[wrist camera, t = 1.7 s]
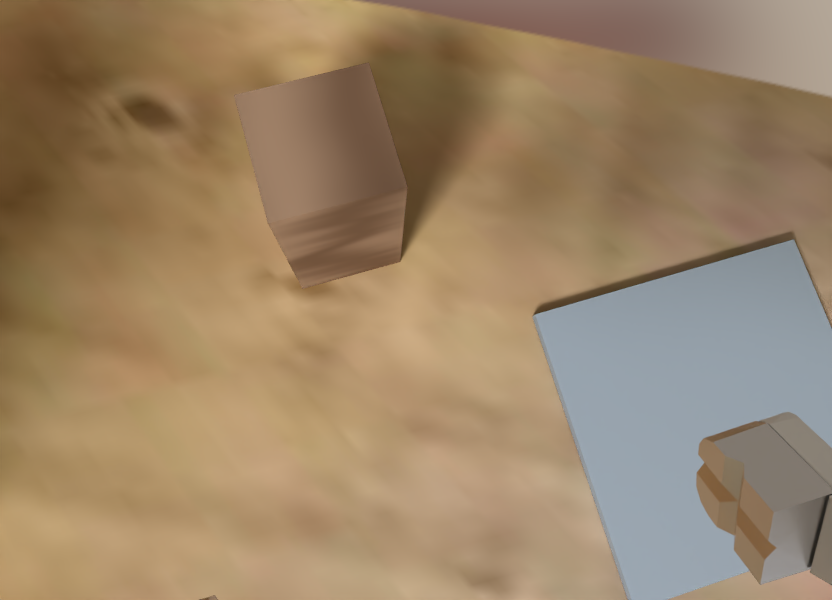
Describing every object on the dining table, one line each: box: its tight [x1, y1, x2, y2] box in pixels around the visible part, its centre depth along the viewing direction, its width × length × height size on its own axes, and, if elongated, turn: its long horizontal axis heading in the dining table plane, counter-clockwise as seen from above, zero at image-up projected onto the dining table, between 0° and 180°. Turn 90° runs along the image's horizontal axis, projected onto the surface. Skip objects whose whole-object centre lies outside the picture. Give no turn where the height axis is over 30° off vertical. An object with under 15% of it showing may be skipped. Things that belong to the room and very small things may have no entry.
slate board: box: [533, 239, 832, 600], centre depth 32 cm, size 14×14×1 cm
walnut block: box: [234, 63, 407, 289], centre depth 28 cm, size 5×5×10 cm
